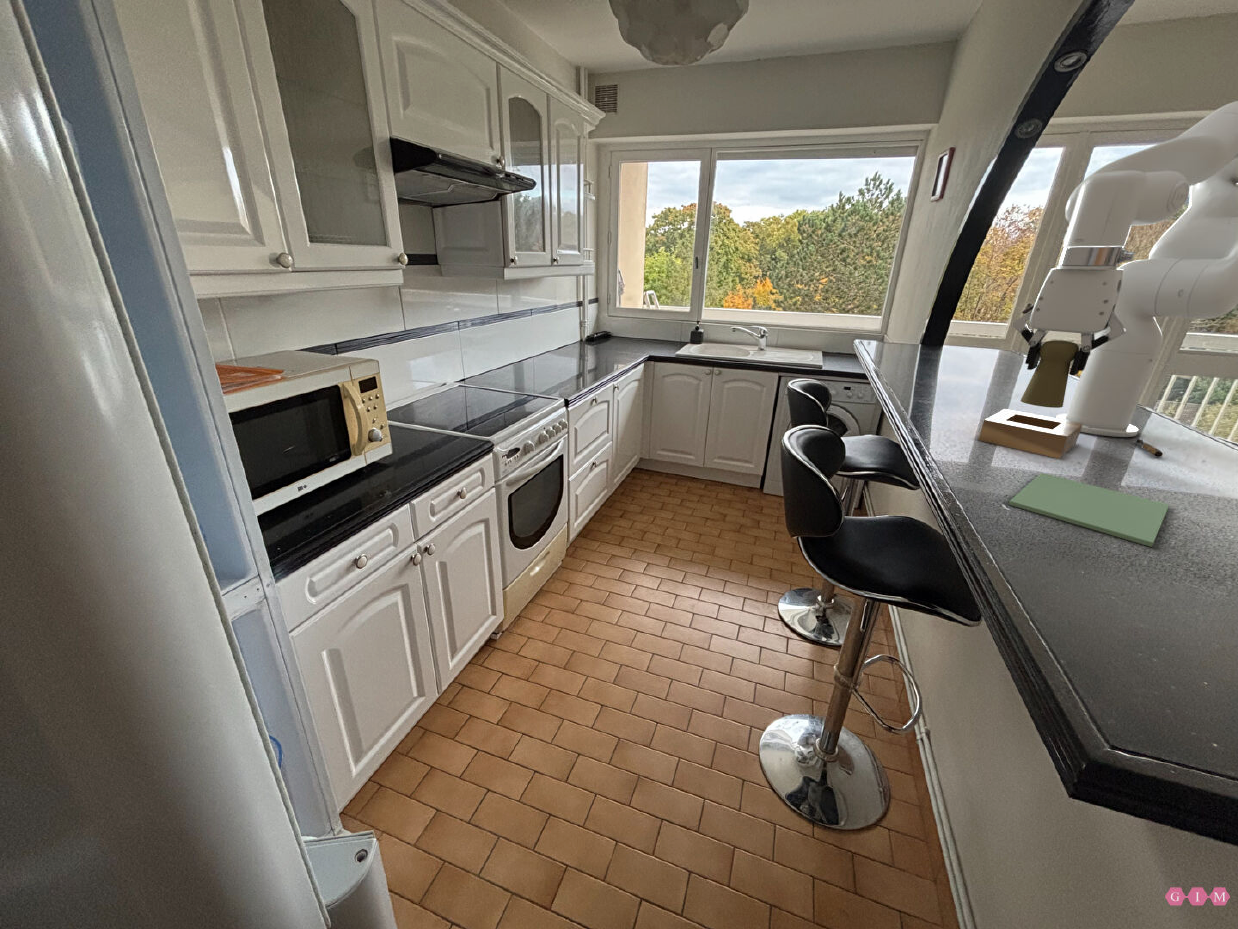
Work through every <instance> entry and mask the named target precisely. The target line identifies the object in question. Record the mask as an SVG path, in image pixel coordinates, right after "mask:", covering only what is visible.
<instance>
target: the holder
mask: <svg viewBox="0 0 1238 929" xmlns="http://www.w3.org/2000/svg"><path fill="white" fill-rule="evenodd" d="M1082 426H1083V423H1078V422H1072V421H1067V420H1061V419H1056V418H1055V417H1051V416H1045V415H1039V414H1035V413H1029V412H1025V411H1024V412H1022V411H1018V410H1013V409H1006V408H1004V409H1002V410H1000V411H998V412H997V413H994V414H992V415H991V416H989V417H986V418H985V419H983V421H982V426H981V428H980V432H979V433H980V434H979V436H978V439H977V441H980V442H983V443H984V442H985V443H988V444H994V445H996V446H997V445H998V446H1000V447H1006V448H1011V449H1015V450H1019V451H1023V452H1028V453H1032V454H1037V455H1041V456H1046V457H1049V458H1054V459H1058V460H1059V459H1061V458H1062V457H1063V456H1064V455H1066V453H1067V452H1069V451H1070V450H1071V448H1073V447H1074V446H1075V445H1076V444H1077V441H1078V438H1079V436H1080V434H1081V432H1080V431H1081V428H1082Z"/></svg>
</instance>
